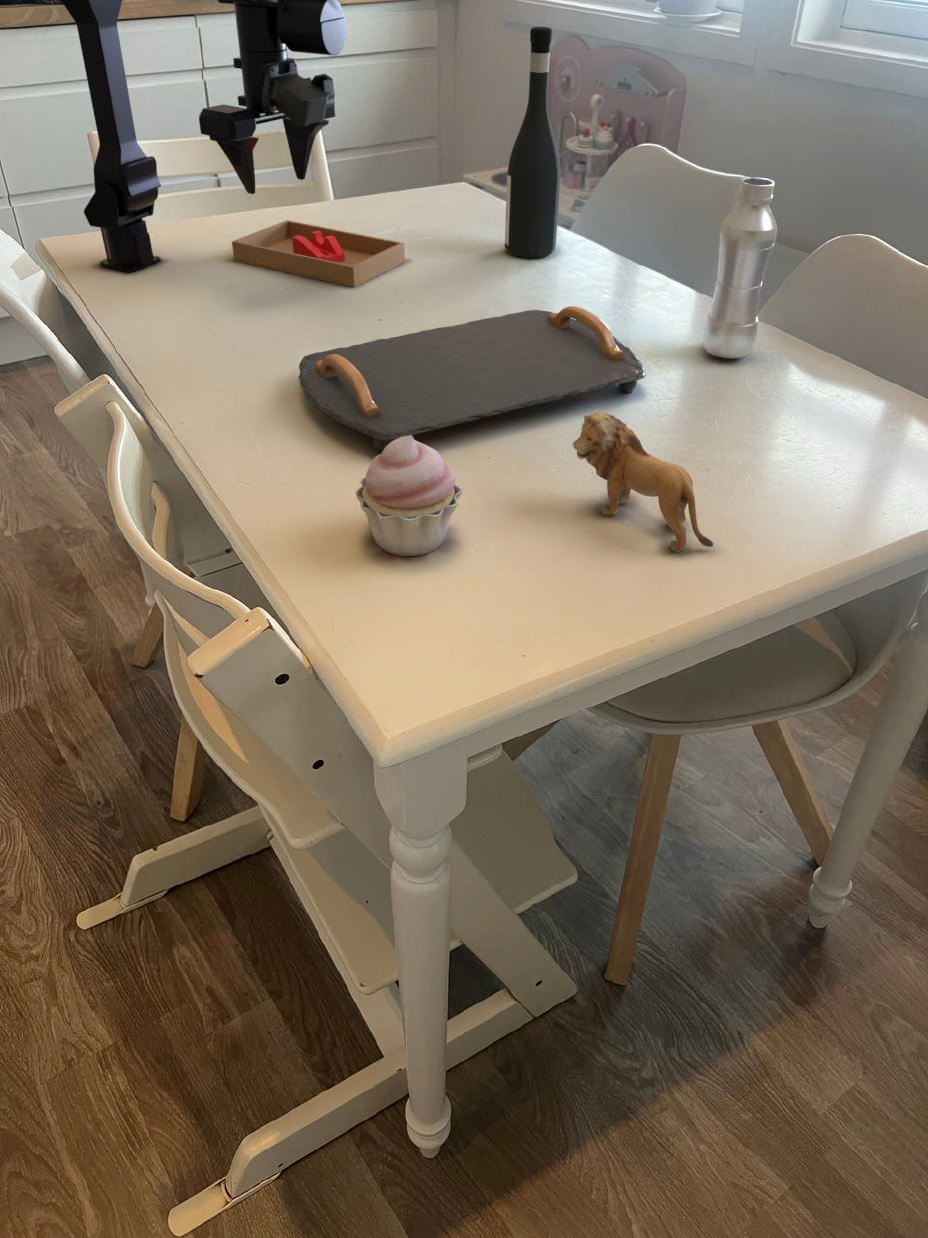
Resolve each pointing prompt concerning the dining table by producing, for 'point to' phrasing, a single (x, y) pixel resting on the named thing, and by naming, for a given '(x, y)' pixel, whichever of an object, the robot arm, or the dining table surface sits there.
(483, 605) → the dining table surface
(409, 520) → the cupcake
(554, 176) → the wine bottle
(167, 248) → the dining table surface
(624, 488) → the lion figurine
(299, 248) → the bracket
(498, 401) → the serving tray
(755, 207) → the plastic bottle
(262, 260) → the cardboard box
